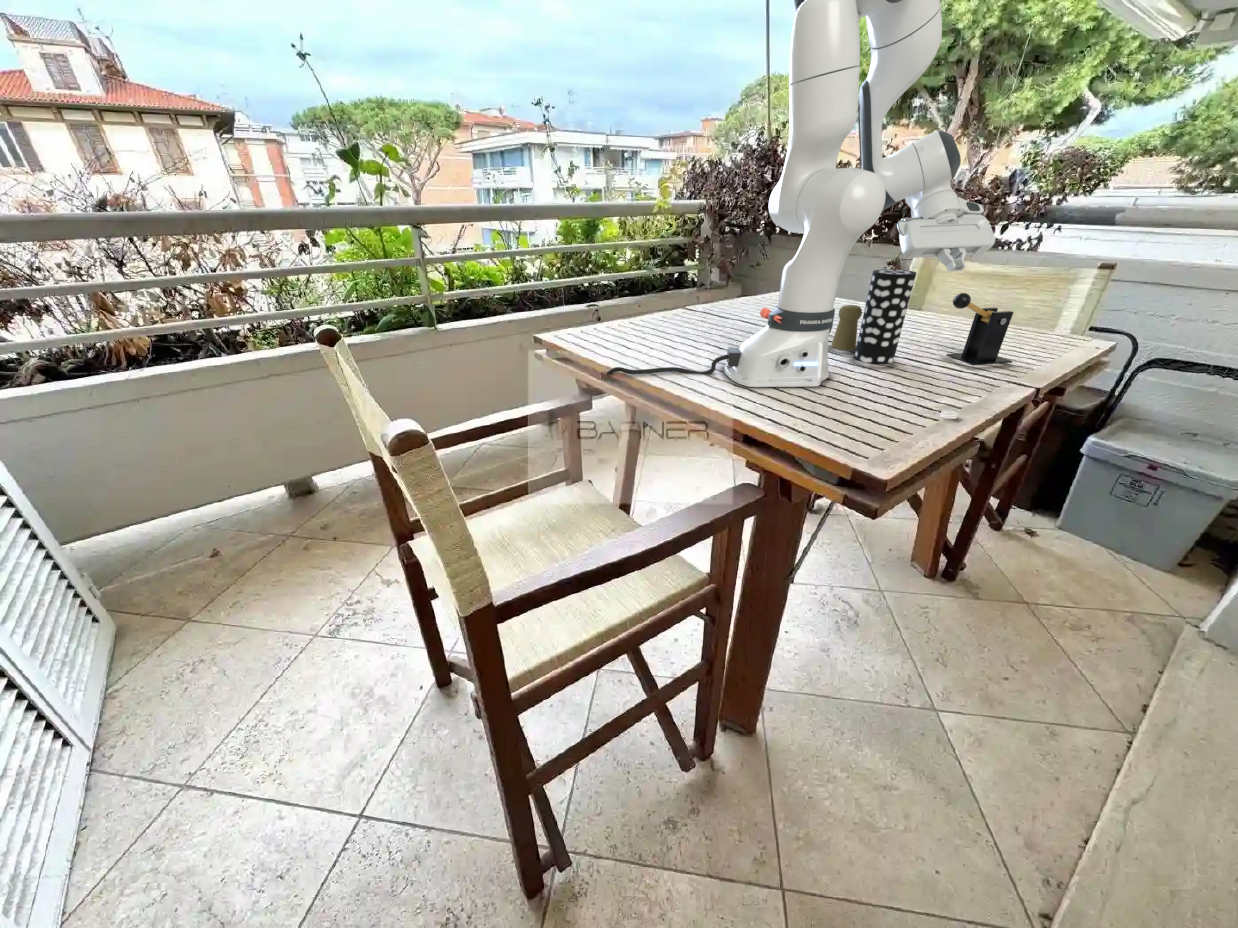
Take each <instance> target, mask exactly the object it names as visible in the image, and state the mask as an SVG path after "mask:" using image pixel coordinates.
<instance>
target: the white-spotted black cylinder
mask: <svg viewBox="0 0 1238 928" xmlns="http://www.w3.org/2000/svg"><path fill="white" fill-rule="evenodd" d="M916 276H917V272H916V271H913V270H907V269H905V270H904V269H894V268H893V269H890V268H889V269H887V268H886V269H884V268H883V269H875V270H873V271H872V274H871V279H870V283H869V287H868V293H867V296H866V297H867V298H866V302H865V305H864V306H865V307H864V312H863V315H862V320H861V325H860V327H859V328H860V329H859V333H858V338H857V341H856V348H855V351H854V355H853V358H854V360H856V361H857V362H860V363H864V364H868V365H891V364H892V363H894V360H895V356H896V352H897V350H898V344H899V341H900V338H901V333H902V330H903V326H904V324H905V323H904V322H905V319H906V315H907V310H908V308H909V304H910V303H909V302H910V300H911V296H912V292H913V288H914V284H915V281H916Z"/></svg>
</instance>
